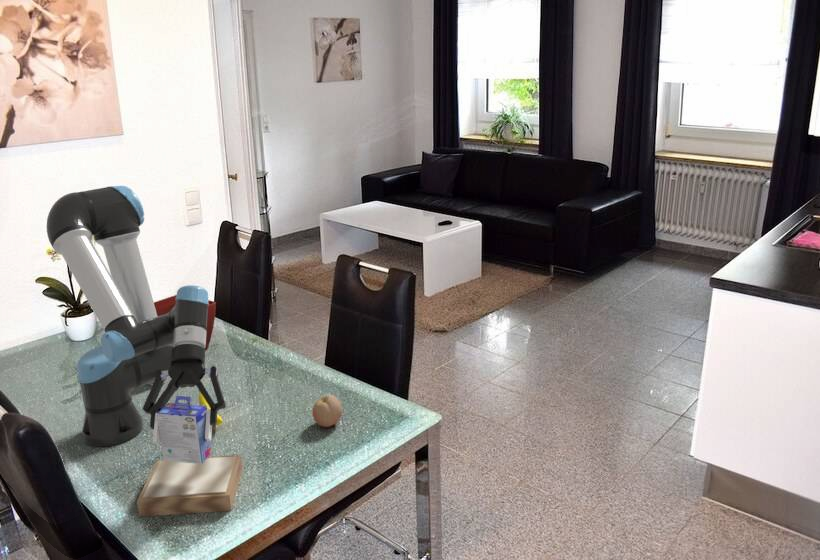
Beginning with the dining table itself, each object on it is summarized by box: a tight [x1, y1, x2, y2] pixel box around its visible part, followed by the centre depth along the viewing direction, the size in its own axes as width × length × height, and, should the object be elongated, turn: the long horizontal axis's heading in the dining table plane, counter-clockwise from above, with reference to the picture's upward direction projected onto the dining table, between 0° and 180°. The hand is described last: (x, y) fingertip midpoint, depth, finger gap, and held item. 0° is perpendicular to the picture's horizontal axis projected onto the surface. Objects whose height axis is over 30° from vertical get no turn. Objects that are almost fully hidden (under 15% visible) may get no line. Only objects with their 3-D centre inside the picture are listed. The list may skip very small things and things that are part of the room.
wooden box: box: [136, 454, 244, 517], centre depth 160 cm, size 20×16×4 cm
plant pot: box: [153, 294, 217, 351], centre depth 235 cm, size 19×19×17 cm
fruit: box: [311, 394, 343, 428], centre depth 187 cm, size 8×8×8 cm
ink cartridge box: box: [157, 395, 214, 464], centre depth 156 cm, size 10×6×14 cm, turn 79°
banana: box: [198, 389, 224, 427], centre depth 190 cm, size 3×19×6 cm, turn 32°
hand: (182, 441), depth 153 cm, fingers closed on ink cartridge box, 11 cm apart
